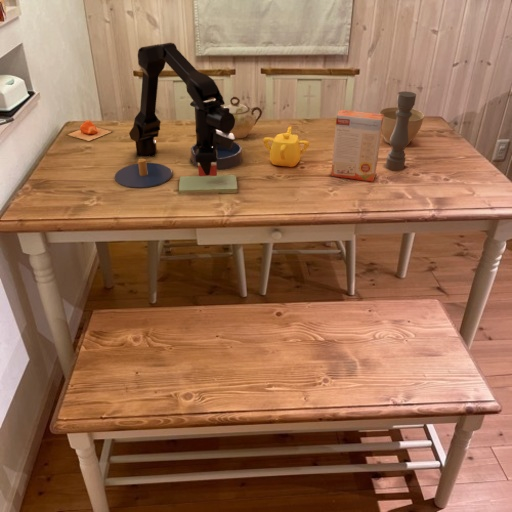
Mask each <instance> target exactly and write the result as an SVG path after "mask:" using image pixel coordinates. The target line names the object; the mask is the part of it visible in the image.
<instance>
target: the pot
mask: <svg viewBox="0 0 512 512" xmlns="http://www.w3.org/2000/svg"><path fill="white" fill-rule="evenodd" d="M215 150H216V151H217V162H216V166H217V171H223V170H229V169H232V168H235V167H237V166H239V165H240V164H241V163H242V160H243V156H242V155H243V154H242V153H243V149H242V146H241V145H240V143H237V142H235V141H234V142H233V145H232V147H231V149H228V148H227V147H224V146H221V145H218V144H217V147H216V149H215ZM196 151H197V146H196V143H194V144H193V145H192V146H191V147H190V159H191V160H190V161H191V163H192V164H193V165H194V166H196V167H197V168H198V163H197V162H196V157H195V154H196Z"/></svg>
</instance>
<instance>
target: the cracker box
mask: <svg viewBox="0 0 512 512" xmlns="http://www.w3.org/2000/svg"><path fill="white" fill-rule="evenodd" d="M383 117H384V115H383V114H380V113H374V112H362V111H354V110H344V109H340V110H339V111H338V113H337V114H336V119H335V127H334V139H333V150H332V160H331V161H332V162H331V171H330V172H331V173H330V176H331V177H335V178H344V179H351V180H358V181H364V182H371V183H372V182H374V180H375V177H376V174H377V166H378V159H379V153H380V145H381V137H382V124H383Z"/></svg>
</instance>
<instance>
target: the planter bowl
mask: <svg viewBox="0 0 512 512" xmlns="http://www.w3.org/2000/svg"><path fill="white" fill-rule="evenodd" d="M396 111H398V107H397V106H390V107H385V108H382V109H381V110H380V111H379V114H383V115H384V117H383V124H382V132H381V135H382V136H383V138H384V142H386V143H387V144H389V145H390V138H391V135H392V133H393V131H394V128H395V126H396V121H397V115H396ZM410 112H411V113H412V116H411V117H410V118H409V122H408V140H409V142H408V145H409V144H411V141H412V140H413V139H414V138H415V137H416V136H417V135H418V133H419V131H420V129H421V127H422V125H423V120H424V119H425V114H424V113H423V111H420V110H418V109H415V108H412V109H411V111H410Z"/></svg>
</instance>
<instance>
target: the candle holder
mask: <svg viewBox="0 0 512 512" xmlns="http://www.w3.org/2000/svg"><path fill="white" fill-rule="evenodd" d="M416 99H417V94H416V93H415V92H412V91H399V92H398V93H397V97H396V107H398V111H396V115H397V121H396V126H395V128H394V131H393V133H392V135H391V138H390V144H389V145H390V148H391V149H390V150H389V151H388V155H387V156H386V162H385V168H386V169H388V170H390V171H394V172H400V171H403V170H404V169H405V164H406V153H405V151H404V150H405V149H406V147H408V145H409V144H408V142H409V140H408V122H409V118H410V117H411V116H412V113H411V112H410V111H411V109H414V107H415V104H416Z"/></svg>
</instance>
